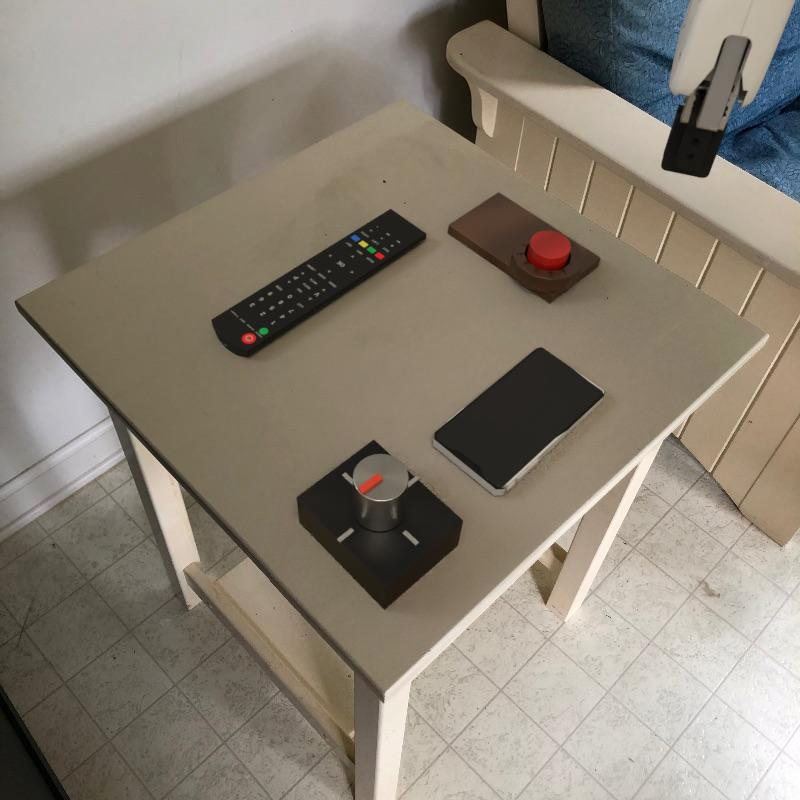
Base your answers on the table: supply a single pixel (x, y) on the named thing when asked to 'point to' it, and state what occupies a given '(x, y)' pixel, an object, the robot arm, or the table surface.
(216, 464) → the table surface
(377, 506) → the dimmer knob
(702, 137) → the robot arm
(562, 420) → the smartphone
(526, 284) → the switch block
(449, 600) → the table surface
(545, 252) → the light button
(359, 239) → the remote control
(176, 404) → the table surface
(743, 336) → the table surface
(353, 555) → the dimmer panel
